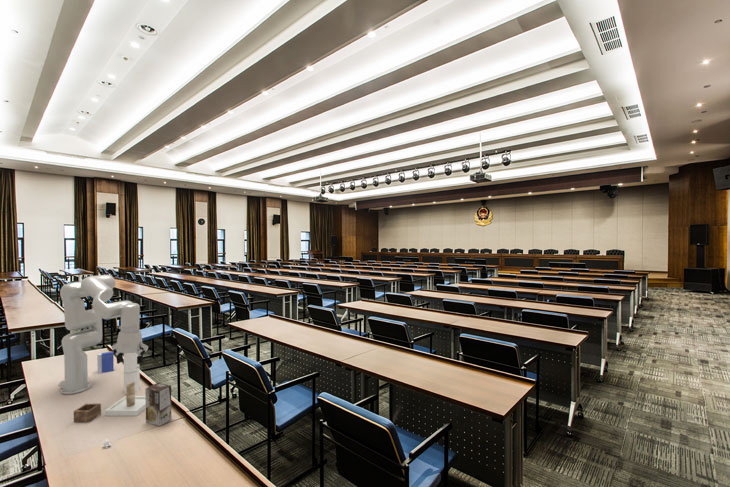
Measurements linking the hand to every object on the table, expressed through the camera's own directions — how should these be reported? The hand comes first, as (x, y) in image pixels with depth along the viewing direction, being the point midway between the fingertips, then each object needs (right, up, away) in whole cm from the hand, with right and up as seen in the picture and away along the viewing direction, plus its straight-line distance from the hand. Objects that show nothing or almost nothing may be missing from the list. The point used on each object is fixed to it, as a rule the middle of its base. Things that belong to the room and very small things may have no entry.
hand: (129, 362), depth 166 cm
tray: (0, -23, +1) cm, 23 cm away
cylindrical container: (-12, -22, +19) cm, 32 cm away
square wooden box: (-14, -23, -9) cm, 28 cm away
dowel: (0, -21, +1) cm, 21 cm away
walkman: (-44, -21, +42) cm, 64 cm away
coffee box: (+20, -24, -10) cm, 33 cm away
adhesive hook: (+12, -25, -30) cm, 40 cm away
